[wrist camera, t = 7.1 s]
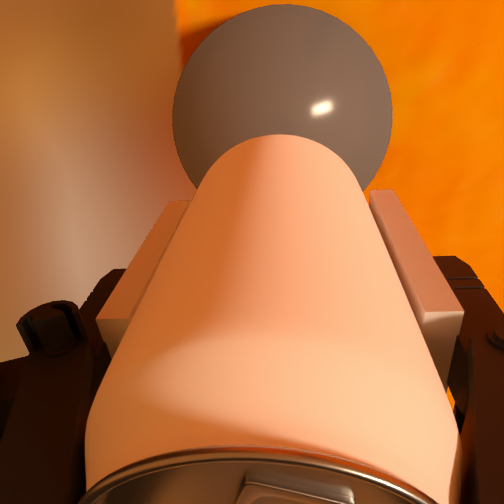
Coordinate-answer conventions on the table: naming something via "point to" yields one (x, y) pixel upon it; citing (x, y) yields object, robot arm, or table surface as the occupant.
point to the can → (274, 354)
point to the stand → (283, 90)
